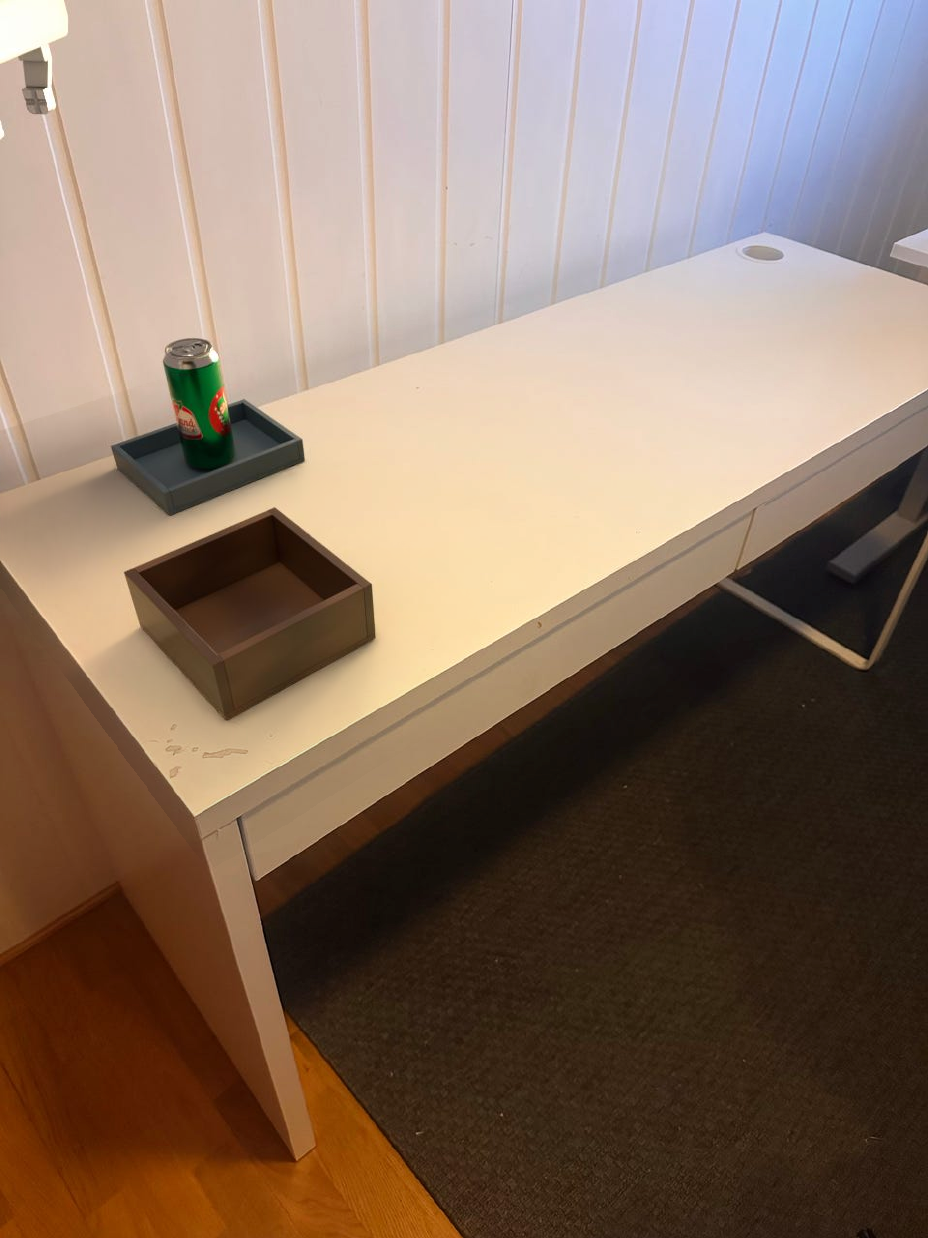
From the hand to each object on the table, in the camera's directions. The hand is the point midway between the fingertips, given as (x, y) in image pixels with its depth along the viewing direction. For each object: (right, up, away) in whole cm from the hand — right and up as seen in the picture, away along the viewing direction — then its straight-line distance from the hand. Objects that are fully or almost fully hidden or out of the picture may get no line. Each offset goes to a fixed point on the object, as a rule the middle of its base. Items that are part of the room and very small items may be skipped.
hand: (17, 126), depth 69 cm
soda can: (+9, -22, +21) cm, 32 cm away
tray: (+9, -22, +22) cm, 32 cm away
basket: (+18, -39, +3) cm, 43 cm away
